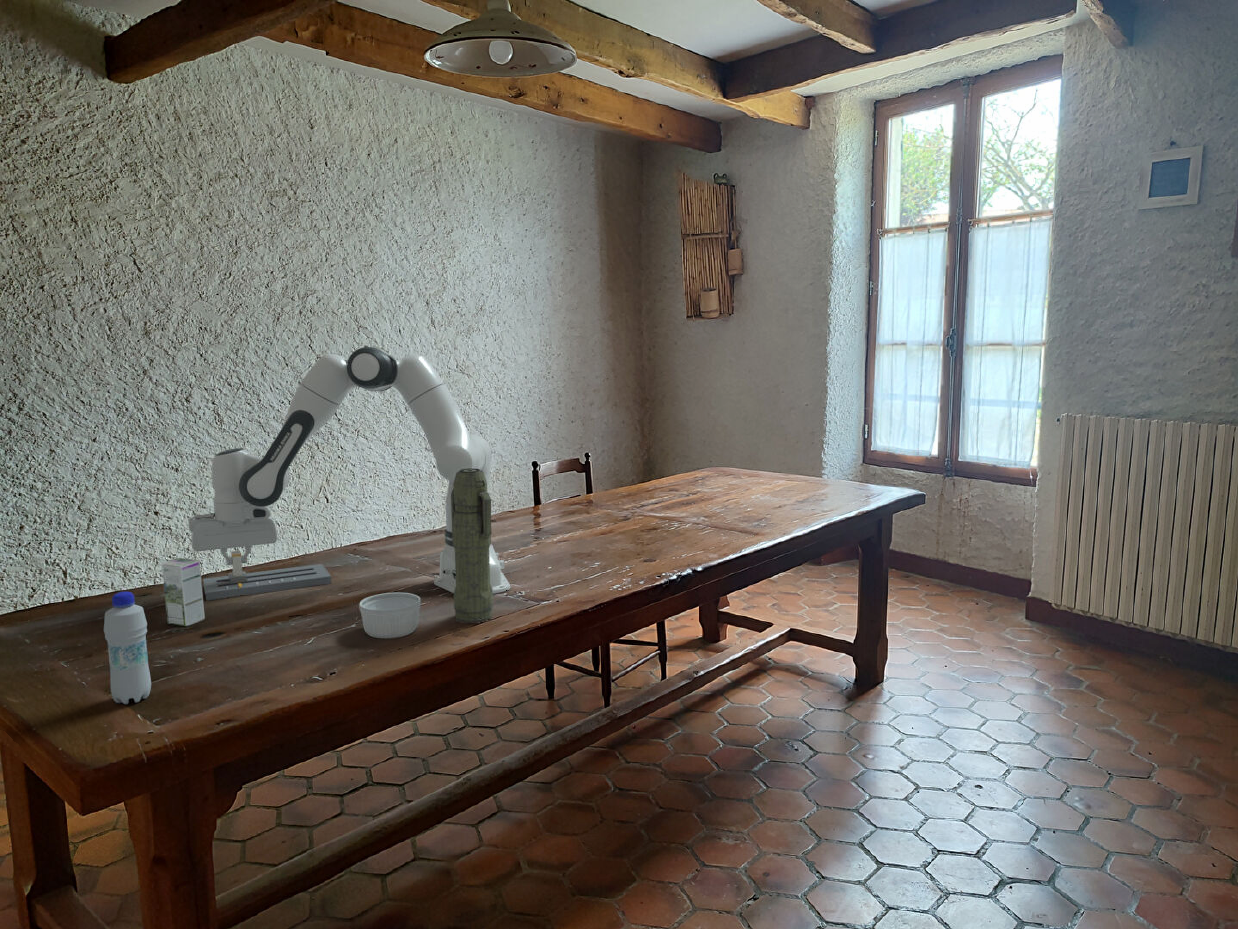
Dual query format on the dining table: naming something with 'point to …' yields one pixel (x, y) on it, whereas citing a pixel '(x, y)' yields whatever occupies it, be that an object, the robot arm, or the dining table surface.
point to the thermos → (471, 546)
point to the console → (267, 581)
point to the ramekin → (390, 614)
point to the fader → (237, 569)
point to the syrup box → (183, 591)
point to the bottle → (127, 649)
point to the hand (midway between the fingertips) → (236, 563)
